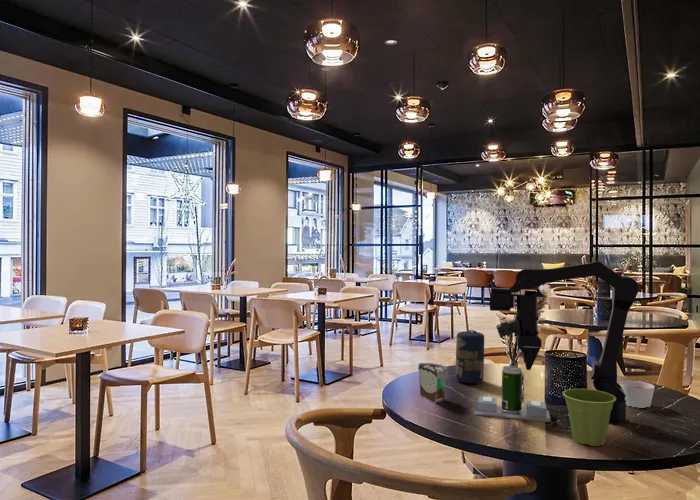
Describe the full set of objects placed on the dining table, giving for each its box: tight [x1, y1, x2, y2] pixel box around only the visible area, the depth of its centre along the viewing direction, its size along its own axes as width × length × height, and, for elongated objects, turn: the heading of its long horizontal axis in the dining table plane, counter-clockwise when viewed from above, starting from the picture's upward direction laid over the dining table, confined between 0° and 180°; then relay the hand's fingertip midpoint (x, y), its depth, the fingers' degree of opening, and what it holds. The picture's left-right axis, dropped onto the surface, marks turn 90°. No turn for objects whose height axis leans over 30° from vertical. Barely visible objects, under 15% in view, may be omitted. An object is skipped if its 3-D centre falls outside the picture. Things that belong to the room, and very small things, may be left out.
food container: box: [417, 362, 449, 405], centre depth 158 cm, size 12×6×10 cm, turn 22°
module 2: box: [525, 399, 547, 417], centre depth 143 cm, size 5×6×3 cm
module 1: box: [477, 395, 498, 412], centre depth 146 cm, size 5×6×3 cm
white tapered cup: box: [619, 380, 655, 409], centre depth 154 cm, size 9×9×6 cm
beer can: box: [501, 365, 523, 413], centre depth 144 cm, size 5×5×12 cm
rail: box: [473, 403, 551, 423], centre depth 144 cm, size 20×7×1 cm, turn 73°
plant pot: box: [562, 388, 616, 447], centre depth 125 cm, size 12×12×11 cm
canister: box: [455, 329, 485, 384], centre depth 179 cm, size 10×10×18 cm
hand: (527, 366), depth 148 cm, fingers open, 9 cm apart
